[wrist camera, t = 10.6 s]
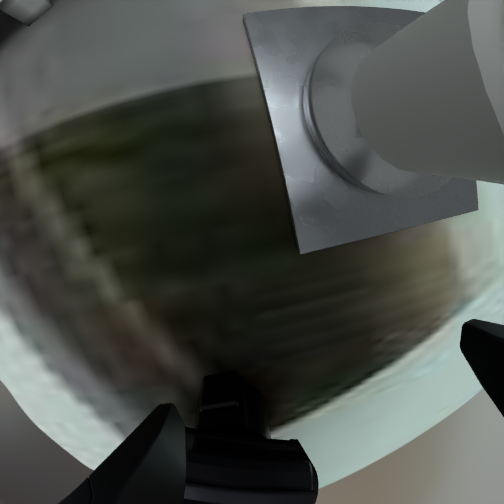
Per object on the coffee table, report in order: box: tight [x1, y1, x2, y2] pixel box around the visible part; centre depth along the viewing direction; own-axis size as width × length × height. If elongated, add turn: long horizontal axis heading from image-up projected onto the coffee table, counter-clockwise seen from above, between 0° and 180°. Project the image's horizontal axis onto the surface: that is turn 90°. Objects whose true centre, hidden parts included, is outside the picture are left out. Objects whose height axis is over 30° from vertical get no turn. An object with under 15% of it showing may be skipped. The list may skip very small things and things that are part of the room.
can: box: [351, 0, 504, 184], centre depth 9 cm, size 8×8×12 cm
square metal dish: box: [243, 6, 478, 254], centre depth 17 cm, size 16×15×4 cm
